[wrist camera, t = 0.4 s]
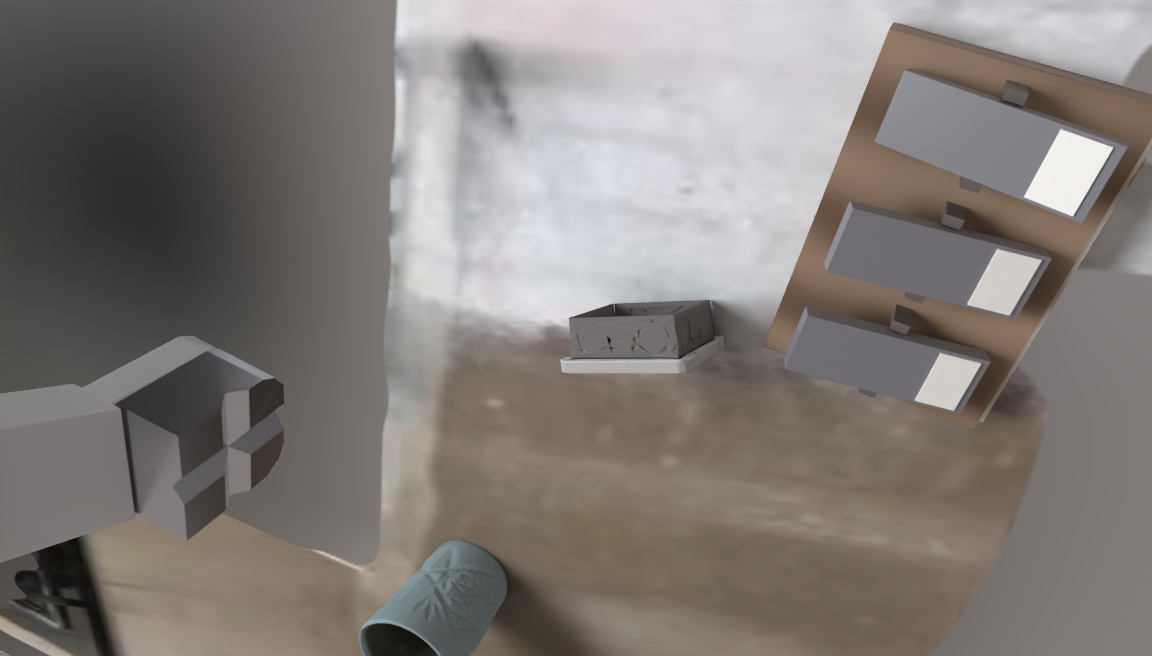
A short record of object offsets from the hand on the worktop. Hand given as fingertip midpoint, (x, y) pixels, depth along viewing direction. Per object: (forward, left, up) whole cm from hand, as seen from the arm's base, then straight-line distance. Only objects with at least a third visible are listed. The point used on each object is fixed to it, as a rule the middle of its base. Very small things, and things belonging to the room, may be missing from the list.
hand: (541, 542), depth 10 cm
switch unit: (+9, +8, -45) cm, 46 cm away
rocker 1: (+16, +8, -39) cm, 43 cm away
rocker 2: (+2, +8, -39) cm, 40 cm away
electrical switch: (+22, -7, -45) cm, 51 cm away
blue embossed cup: (+59, -18, -45) cm, 76 cm away
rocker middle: (+9, +8, -39) cm, 41 cm away
